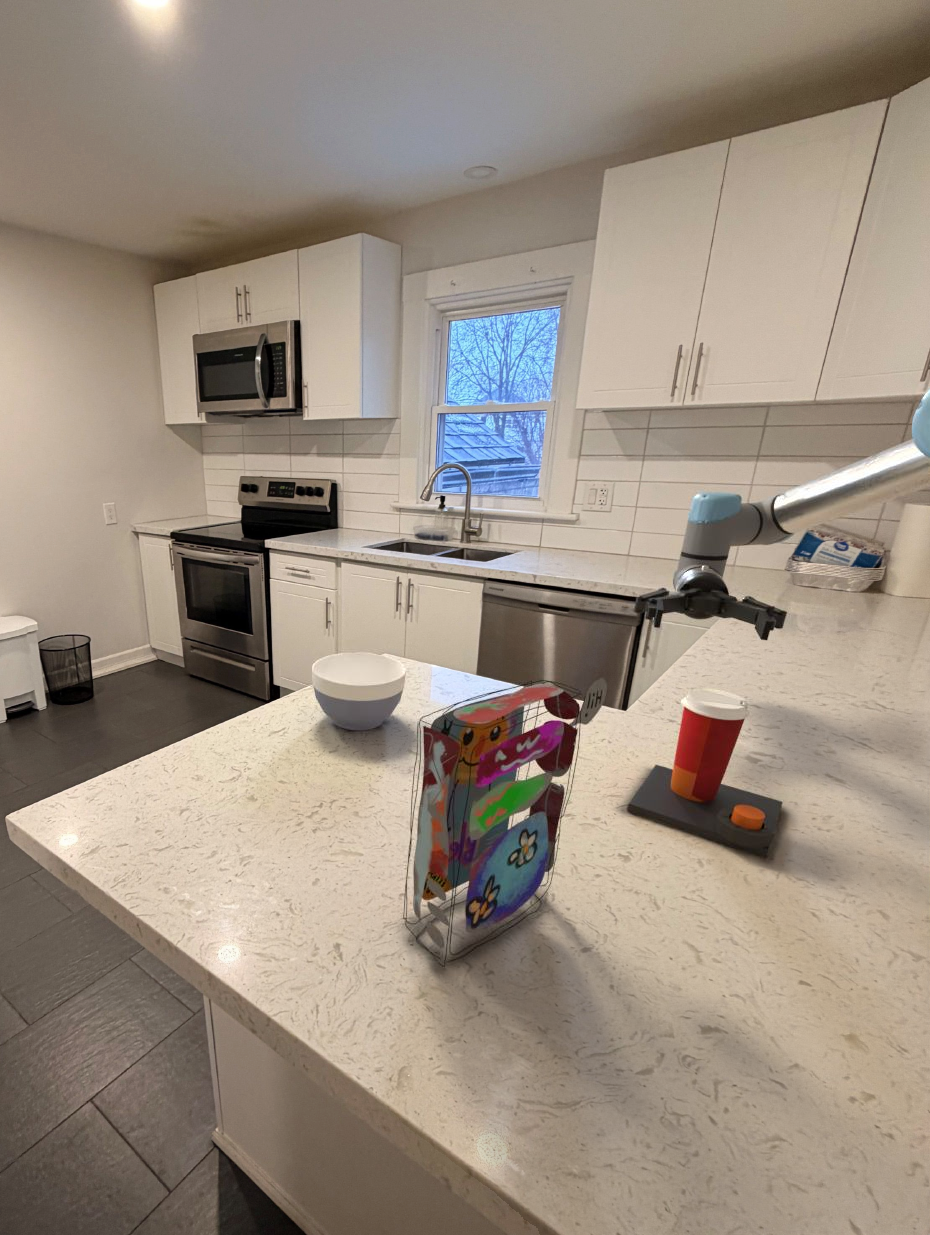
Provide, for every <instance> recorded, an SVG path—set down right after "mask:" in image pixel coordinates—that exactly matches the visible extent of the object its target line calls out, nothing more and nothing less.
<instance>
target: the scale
mask: <svg viewBox="0 0 930 1235" xmlns="http://www.w3.org/2000/svg"><path fill="white" fill-rule="evenodd" d="M672 772H673V768H670V767H666V766H662V765H659V764H654V766H653V767H652V769H651V771H650V772H649V773H648V775H647V776H646V777H645V779H644V781H643V782H642V783H641V785H640V786H639V788H638V789H637V790H636V792H635V794H634V795H633V796H632V798H631V799H630V801H629V802H628V804H627V808H626V811H627V812H629V813H632V814H635V815H638V816H641V817H644V818H647V819H649V820H651V821H652V820H653V821H655V822H658V823H662V824H664V825H666V826H670V827H673V828H677V829H679V830H682V831H685V832H687V833H690V834H692V835H693V834H694V835H697V836H699V837H702V838H705V839H709V840H712V841H714V842H716V843H720V844H723V845H726V846H729V847H732V848H735V849H736V850H737V849H738V850H740V851H743V852H747V853H748V854H749V853H750V854H752V855H754V856H757V857H761V858H764V859H767V858H768V855H769V852H770V849H771V846H772V844H773V841H774V839H775V838H774V837H775V835H776V831H777V824H778V820H779V817H780V813H781V809H782V806H783V801H781V800H778V799H775V798H771V797H768V796H764V795H761V794H758V793H754V792H752V791H747V790H744V789H741V788H738V787H734V786H730V785H728V784H723V783H721V785H720V787H719V790H718V793H717V795H716V797H715V799H714V800H712V801H708V802H698V801H693V800H689V799H686V798H683V797H681V796H679V795H677V794H676V793H675V792H674V791H673V790H672V789H671V779H672ZM737 805H748V806H752V807H755V808H757V809H759V810H761V811H762V812H763V813H764V815H765V818H764V821H763V824H762V827H761V829H760V830H749V829H746V828H742V827H739V826H738V825H736V824H734V823H733V822H732V821H731V817H732V814H733V811H734V808H735V806H737Z"/></svg>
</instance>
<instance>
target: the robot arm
mask: <svg viewBox="0 0 930 1235" xmlns="http://www.w3.org/2000/svg"><path fill="white" fill-rule="evenodd" d="M911 436H912V438H911V439H909V440H906V441H904V442H902V443H899V444H897V445H895V446H891V447H889V448H887V449H885V450H881V451H880V452H878V453H875V454H872V455H870V456H868V457H865V458H863V459H861V460H858V461H856V462H854V463H851V464H848V465H846V466H843V467H841V468H839V469H837V470H833V471H832V472H829V473H826V474H824V475H822V476H819V477H816V478H815V479H812V480H809V481H807V482H805V483H802V484H800V485H797V486H795V487H793V488H790V489H788V490H786V491H783V492H781V493H779V494H777V495H773V496H771V497H769V498H766V499H763V500H761V501H758V502H757V501H756V502H742V500H743V499H742V496H741V494H738V493H733V492H732V493H731V492H719V491H717V492H716V491H714V492H713V491H705V492H704V491H703V492H699V493H697V494H696V495H695V496H694V497H693V500H692V503H691V506H690V510H689V513H688V514H687V523H686V528H685V533H684V537H683V542H682V546H681V551H680V555H679V559H678V562H677V567H676V570H675V571H674V573H673V579H672V584H673V588H674V592H675V594H674V593H670V590H668V589H667V588H666V587H660V588H658V589H657V590H655V591H651V592H648V593H645V594H640V595H638V596H636V598H635V603H634V608H633V612H634V613H636V614H642V613H645V617H644V619H645V620H647V621H648V620H649V621H652V620H653V628H656V629H660V628H661V625H662V618H663V615H664V614H671V613H678V614H681V615H685V616H686V617H688V618H690V619H694V620H707V619H708V620H709V619H712V618H713V617H719V618H721V619H735V620H737V621H740V622H744V623H747V624H750V625H753V626H754V630H755V631H756V633H757V635H758V637H759V639H760V640H761V641H768V639H769V636H770V632H771V631H772V632H773V631H775V629H777V630H781V629H783V628H784V624H785V621H786V617H787V614H788V611H786V610H784V609H780V608H778V607H776V606H774V605H770V604H767V603H764V602H762V601H760V600H757V599H756V598H755V597H753V596H751V595H745V596H744V597H742V600H738V598H737V597H736V596H733V595H730V591H729V588H728V586H727V584H726V582H725V581H724V578H723V577H724V573H725V570H726V565H727V562H728V560H729V559H728V558H729V554H730V551H731V547H742V546H758V545H759V546H768V545H774V544H779V543H783V542H785V541H788V540H790V539H791V537H793V536H794V535H795V534H797V533H799V532H802V531H805V530H808V529H811V528H813V527H817V526H819V525H822V524H826V523H829V522H831V521H834V520H837V519H839V518H842V517H845V516H849V515H852V514H854V513H857V512H860V511H863V510H866V509H868V508H872V507H875V506H877V505H880V504H884V503H887V502H889V501H892V500H895V499H898V498H901V497H904V496H907V495H910V494H913V493H915V492H918V491H922V490H924V489H927V488H930V388H929V389H928V390H927V391H926V392H925V394H924V395H923V397H922V398H921V401H920V403H919V405H918V406H917V409H916V410H915V412H914V415H913V418H912V422H911Z"/></svg>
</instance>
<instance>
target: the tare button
mask: <svg viewBox="0 0 930 1235" xmlns="http://www.w3.org/2000/svg"><path fill="white" fill-rule="evenodd" d="M764 818H765V815H764V813H763V812H762V811H761V810H759V809H757V808H755V807H752V806H748V805H737V806H735V808H734V811H733V814H732V817H731V821H732V822H733V823H734V824H736V825H738V826H739V827H742V828H746V829H749V830H760V829H761V827H762V824H763V821H764Z"/></svg>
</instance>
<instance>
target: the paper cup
mask: <svg viewBox="0 0 930 1235" xmlns="http://www.w3.org/2000/svg"><path fill="white" fill-rule="evenodd" d="M680 701H681V702H680V703H681V705H682V706H683V710H682V715H681V721H680V727H679V732H678V738H677V744H676V750H675V756H674V761H673V767H672V769H673V772H672V779H671V789H672V790H673V791H674V792H675V793H676V794H677V795H679V796H681V797H683V798H686V799H689V800H693V801H698V802H708V801H712V800H714V799H715V797H716V795H717V793H718V790H719V787H720V785H721V784H722V782H723V780H724V777H725V775H726V771H727V768H728V766H729V764H730V761H731V758H732V755H733V752H734V750H735V747H736V745H737V741H738V739H739V737H740V734H741V730H742V728H743V725H744V722H745V720H746V719H747V718H748V717H749V716H750V711H749V709H748V705H747V704H748V702H747V700H746V699H745V698H743V697H741V696H739V695H737V694H735V693H733V692H730V691H729V692H728V691H725V690H720V689H716V688H715V689H714V688H696V689H692V690H690V691H689V692H688V693H686V694H685V696H684V697H683V698H681V700H680Z"/></svg>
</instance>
